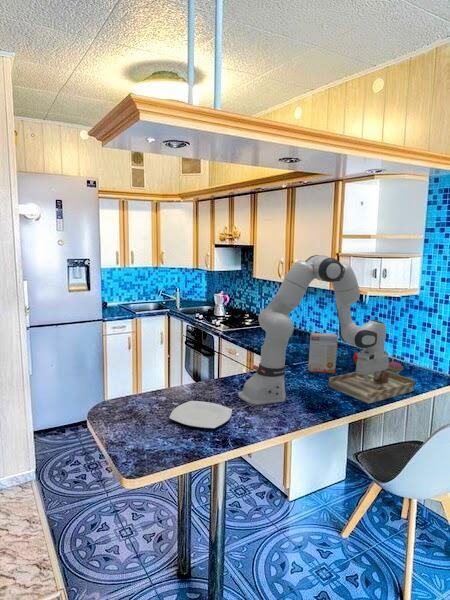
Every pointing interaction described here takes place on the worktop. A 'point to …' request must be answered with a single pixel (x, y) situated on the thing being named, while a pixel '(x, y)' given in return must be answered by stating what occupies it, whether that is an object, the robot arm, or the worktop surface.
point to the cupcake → (395, 367)
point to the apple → (355, 357)
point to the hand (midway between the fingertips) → (371, 380)
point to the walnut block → (382, 377)
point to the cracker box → (322, 352)
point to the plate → (201, 414)
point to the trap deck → (371, 386)
